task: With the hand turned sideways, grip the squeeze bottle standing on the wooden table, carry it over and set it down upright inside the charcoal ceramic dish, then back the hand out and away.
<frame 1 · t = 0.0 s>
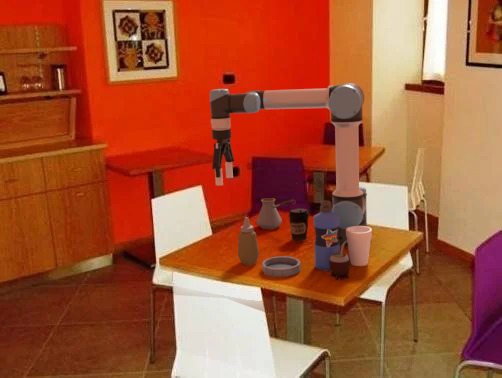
hand: (224, 181, 243), 28 cm above the table, tool pointing down, fingers open, 13 cm apart
coffee pot: (277, 229, 272), on the table
coffee cup: (299, 240, 254), on the table
water bottle: (327, 267, 222), on the table
mate gourd: (340, 277, 211), on the table
dish: (281, 270, 220), on the table
foam cup: (359, 263, 224), on the table
squeeze bottle: (249, 263, 230), on the table
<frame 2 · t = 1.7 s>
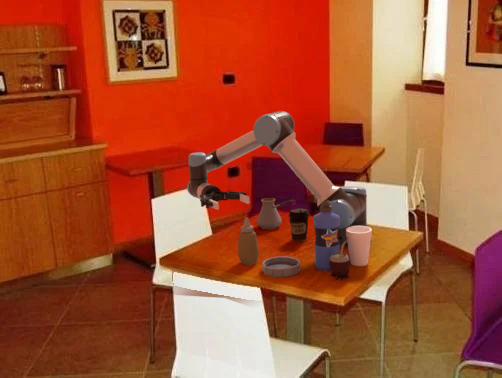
hand: (233, 203, 233), 22 cm above the table, tool horizontal, fingers open, 13 cm apart
nothing on the table moved.
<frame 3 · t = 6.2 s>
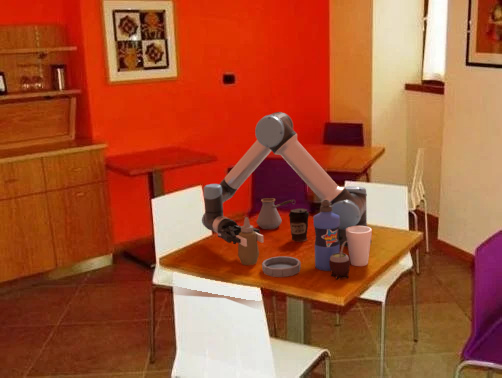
hand: (254, 241, 223), 10 cm above the table, tool horizontal, fingers closed on squeeze bottle, 6 cm apart
squeeze bottle: (248, 263, 230), on the table, touching gripper
everything else where it was.
when the fingers open (12 cm above the table, at t = 10.3 s): squeeze bottle drops 1 cm, resting on dish.
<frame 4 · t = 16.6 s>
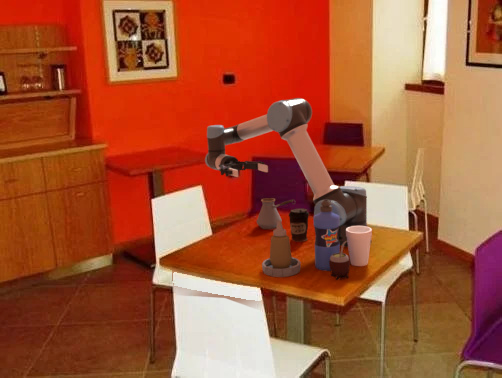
hand: (252, 171, 240), 32 cm above the table, tool horizontal, fingers open, 13 cm apart
squeeze bottle: (281, 268, 220), point 1 cm above the table, touching dish
everything else where it was.
at the end: squeeze bottle 0.1 cm off-centre on the dish, point 0.6 cm above the dish's base; squeeze bottle tilted 0°; the gripper is holding nothing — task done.
